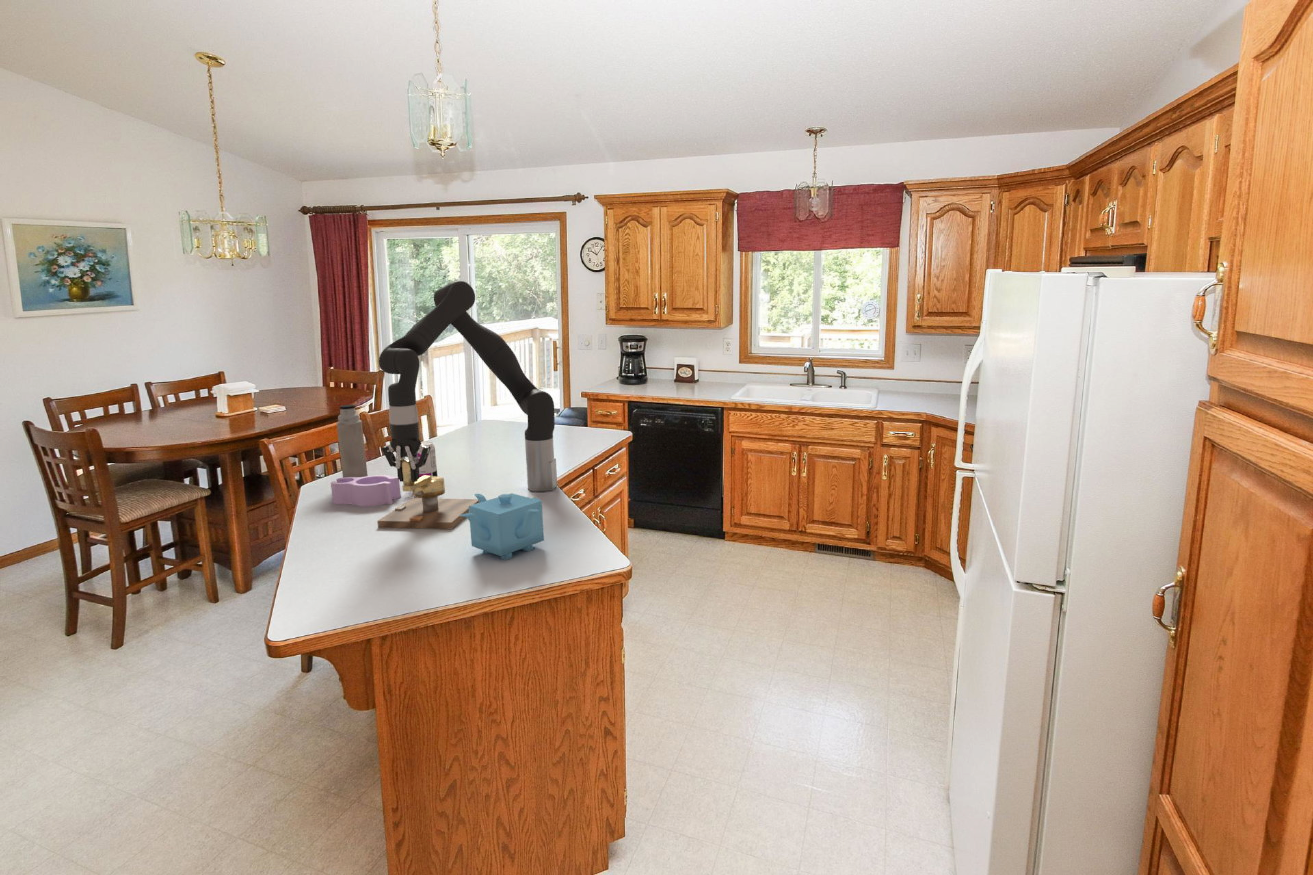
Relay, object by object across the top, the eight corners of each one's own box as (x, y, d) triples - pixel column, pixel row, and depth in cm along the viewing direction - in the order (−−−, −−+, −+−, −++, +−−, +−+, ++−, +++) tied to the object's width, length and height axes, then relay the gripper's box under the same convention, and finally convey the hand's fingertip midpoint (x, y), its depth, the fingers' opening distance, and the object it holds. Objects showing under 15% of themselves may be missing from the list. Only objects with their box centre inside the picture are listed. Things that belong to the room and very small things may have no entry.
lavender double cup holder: (326, 507, 224) (323, 485, 223) (345, 495, 237) (343, 475, 235) (388, 506, 223) (386, 485, 222) (404, 495, 236) (402, 474, 234)
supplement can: (422, 491, 239) (418, 447, 236) (408, 487, 244) (404, 444, 241) (443, 485, 246) (439, 443, 242) (428, 481, 250) (424, 440, 247)
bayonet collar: (425, 487, 218) (422, 447, 215) (452, 488, 216) (449, 448, 213) (393, 504, 201) (389, 461, 199) (422, 505, 199) (418, 462, 197)
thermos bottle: (351, 481, 253) (342, 403, 247) (372, 481, 253) (364, 403, 247) (339, 487, 246) (329, 407, 240) (361, 487, 245) (352, 407, 239)
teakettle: (545, 536, 194) (542, 483, 191) (542, 561, 176) (539, 504, 173) (474, 540, 192) (470, 487, 189) (464, 566, 174) (459, 508, 171)
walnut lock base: (480, 505, 222) (478, 484, 221) (451, 529, 201) (449, 506, 199) (413, 504, 225) (411, 483, 223) (378, 527, 203) (375, 505, 202)
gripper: (434, 418, 200) (438, 478, 203) (386, 417, 201) (391, 476, 205) (422, 424, 192) (426, 485, 196) (373, 423, 194) (378, 484, 198)
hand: (408, 480), depth 201 cm, fingers closed on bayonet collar, 3 cm apart
